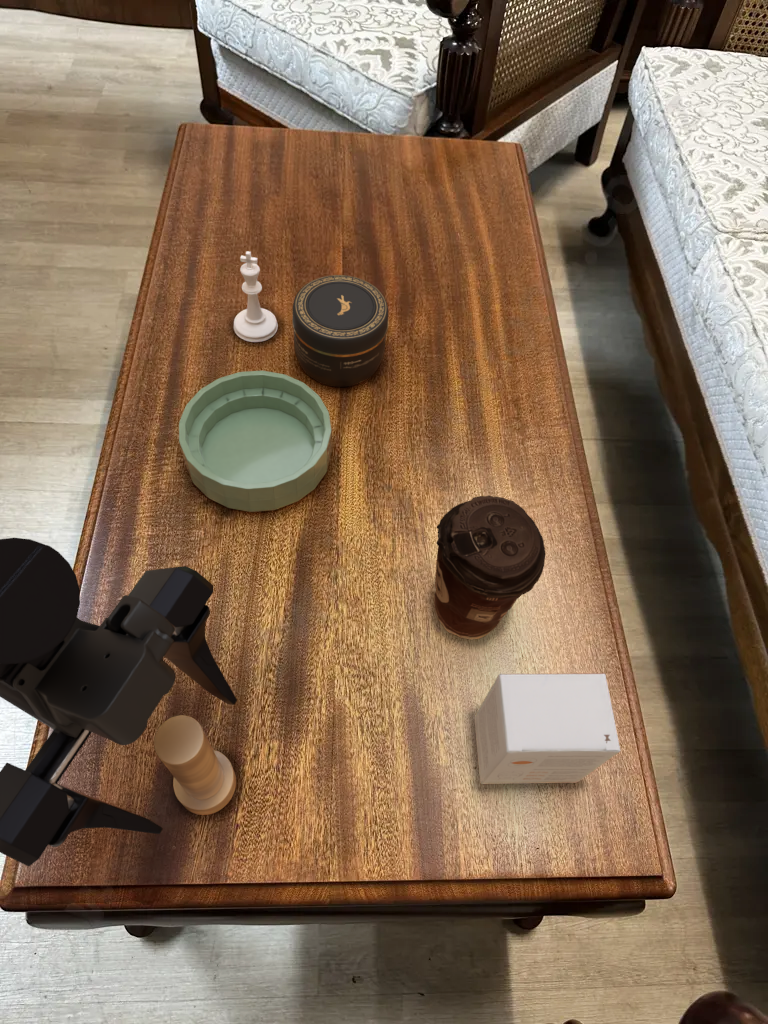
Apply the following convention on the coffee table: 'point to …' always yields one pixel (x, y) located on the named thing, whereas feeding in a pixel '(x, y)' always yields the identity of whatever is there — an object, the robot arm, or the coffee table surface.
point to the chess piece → (253, 306)
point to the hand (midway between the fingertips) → (197, 763)
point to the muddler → (194, 766)
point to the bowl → (256, 440)
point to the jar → (339, 329)
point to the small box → (545, 728)
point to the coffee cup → (484, 564)
